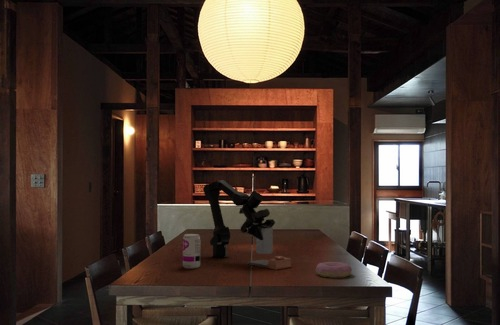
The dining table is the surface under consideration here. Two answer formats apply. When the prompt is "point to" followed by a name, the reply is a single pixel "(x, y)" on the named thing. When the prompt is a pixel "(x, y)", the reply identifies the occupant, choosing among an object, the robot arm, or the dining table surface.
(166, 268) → the dining table surface
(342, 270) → the donut
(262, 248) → the lock block
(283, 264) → the block
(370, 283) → the dining table surface
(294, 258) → the dining table surface
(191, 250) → the supplement can
